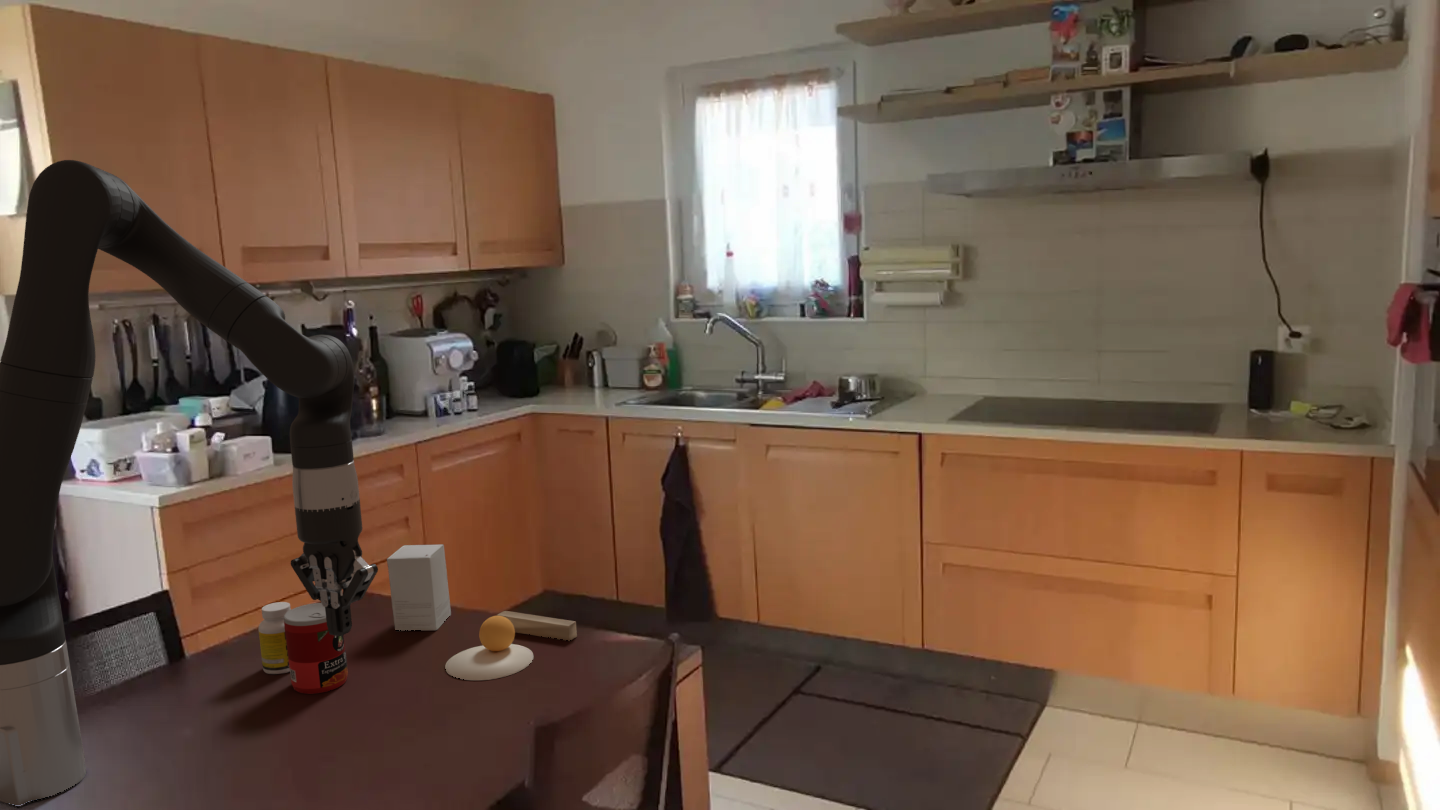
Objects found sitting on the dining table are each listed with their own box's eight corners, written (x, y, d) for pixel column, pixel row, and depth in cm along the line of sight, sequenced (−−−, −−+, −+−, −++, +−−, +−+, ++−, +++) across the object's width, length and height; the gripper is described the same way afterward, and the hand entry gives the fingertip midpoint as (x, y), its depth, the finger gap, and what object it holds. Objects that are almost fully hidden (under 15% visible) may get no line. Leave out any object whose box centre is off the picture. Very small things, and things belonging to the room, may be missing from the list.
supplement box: (452, 614, 177) (445, 543, 175) (436, 631, 170) (429, 557, 168) (410, 615, 178) (403, 543, 176) (393, 631, 171) (385, 557, 169)
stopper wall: (569, 641, 163) (568, 625, 163) (498, 629, 170) (496, 614, 169) (576, 636, 165) (575, 621, 165) (505, 625, 171) (504, 610, 171)
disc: (497, 686, 148) (497, 684, 148) (426, 672, 154) (426, 671, 154) (550, 651, 160) (550, 650, 160) (482, 640, 165) (482, 638, 165)
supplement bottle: (292, 674, 155) (285, 612, 154) (256, 676, 155) (249, 613, 154) (307, 659, 161) (300, 599, 159) (272, 661, 161) (265, 600, 159)
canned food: (330, 696, 147) (322, 622, 145) (280, 693, 149) (271, 620, 147) (359, 673, 155) (351, 602, 153) (311, 671, 156) (302, 601, 154)
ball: (505, 661, 158) (498, 631, 156) (476, 655, 161) (468, 627, 158) (524, 639, 163) (517, 611, 161) (495, 635, 165) (488, 606, 163)
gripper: (263, 502, 127) (278, 636, 130) (343, 511, 121) (356, 652, 124) (312, 487, 134) (325, 616, 137) (389, 496, 128) (401, 630, 131)
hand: (340, 633), depth 130 cm, fingers closed
